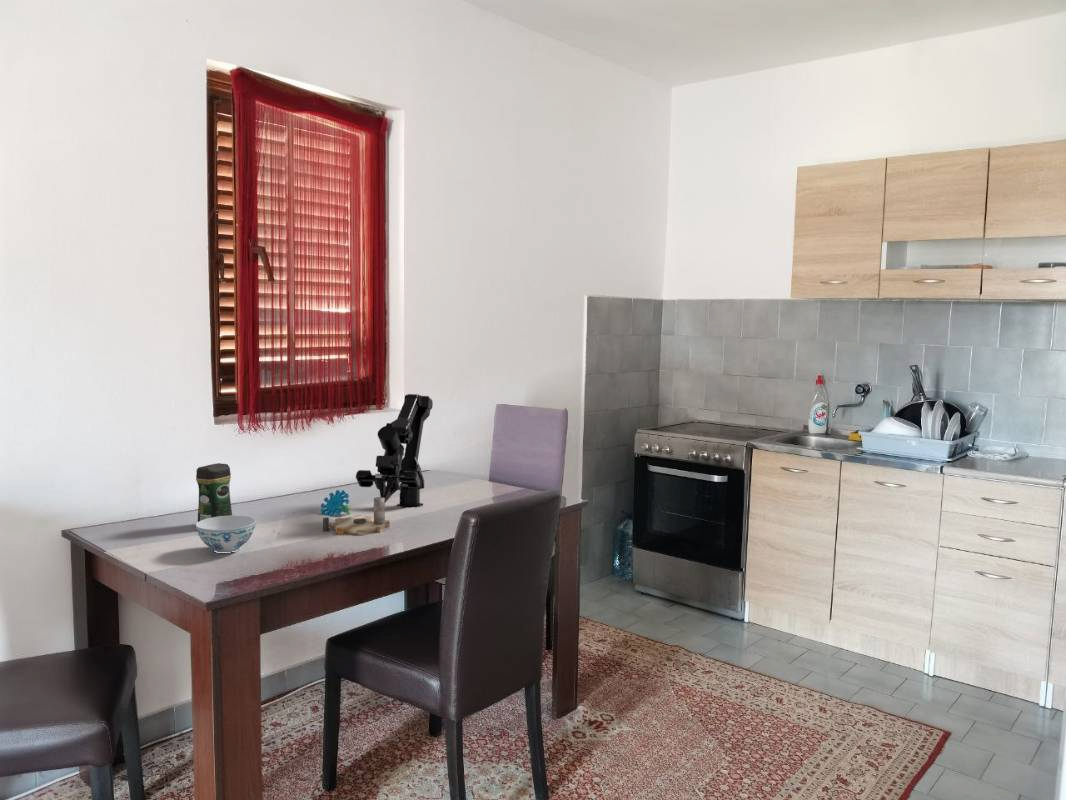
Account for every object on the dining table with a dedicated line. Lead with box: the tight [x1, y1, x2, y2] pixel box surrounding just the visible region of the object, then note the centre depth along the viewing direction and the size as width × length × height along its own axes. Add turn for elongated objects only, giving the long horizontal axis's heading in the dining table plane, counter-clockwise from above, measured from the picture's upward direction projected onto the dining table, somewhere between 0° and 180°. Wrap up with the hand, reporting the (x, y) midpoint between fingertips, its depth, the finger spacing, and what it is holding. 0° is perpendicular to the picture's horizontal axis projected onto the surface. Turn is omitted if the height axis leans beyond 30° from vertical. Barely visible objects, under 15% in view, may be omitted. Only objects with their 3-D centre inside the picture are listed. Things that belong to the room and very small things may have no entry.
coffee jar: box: [195, 462, 233, 522], centre depth 242 cm, size 10×8×19 cm
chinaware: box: [195, 515, 257, 552], centre depth 217 cm, size 15×15×8 cm
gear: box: [320, 489, 352, 517], centre depth 259 cm, size 11×6×10 cm
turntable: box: [329, 496, 391, 536], centre depth 241 cm, size 17×17×9 cm
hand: (382, 503), depth 241 cm, fingers closed, pressing on turntable
